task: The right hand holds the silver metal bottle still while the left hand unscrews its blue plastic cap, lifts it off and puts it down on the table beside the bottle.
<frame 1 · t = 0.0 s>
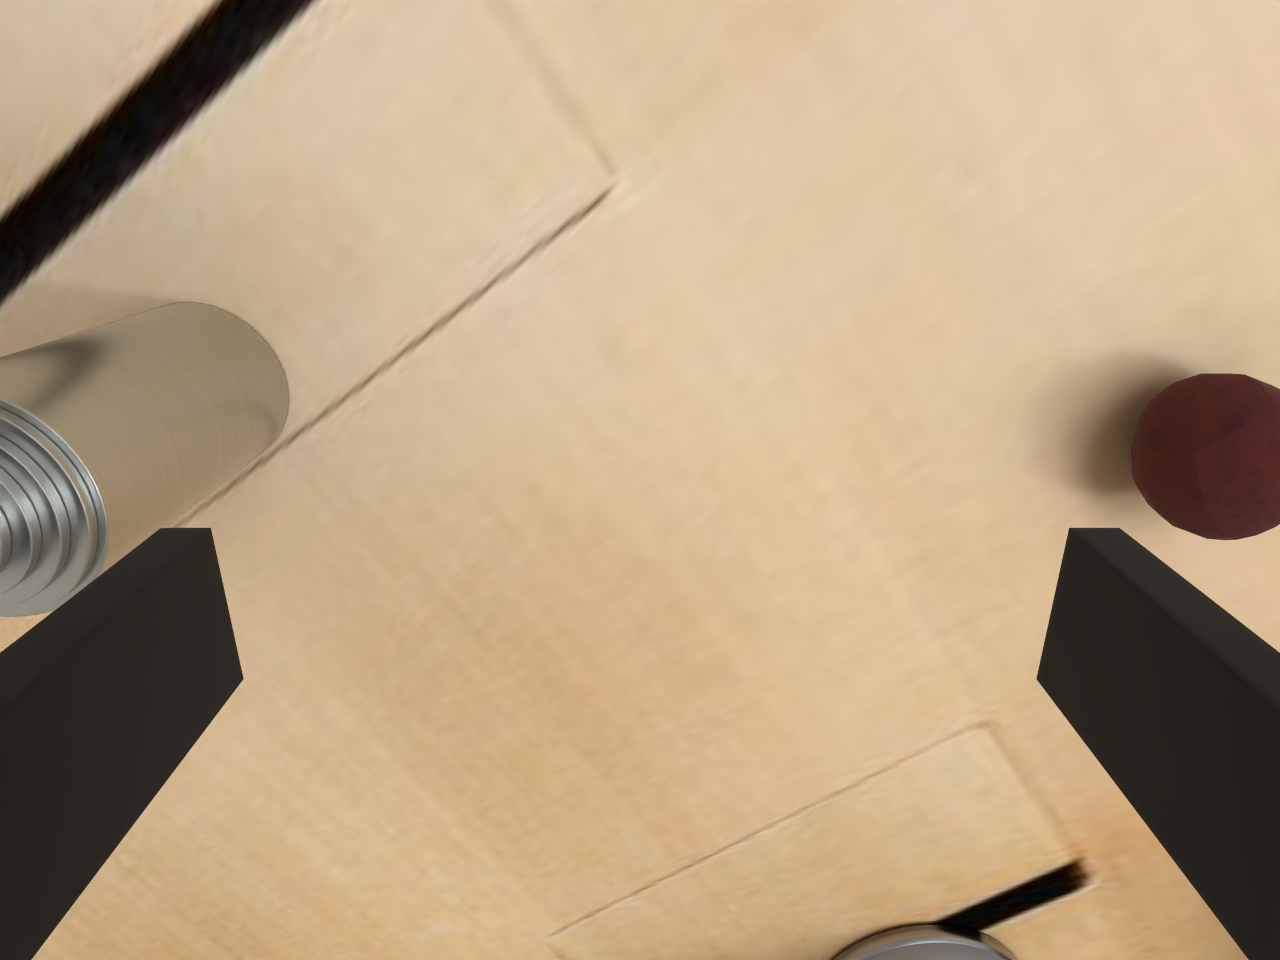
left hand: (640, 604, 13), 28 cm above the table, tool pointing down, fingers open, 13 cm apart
bottle: (205, 386, 40), on the table
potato: (1172, 429, 41), on the table
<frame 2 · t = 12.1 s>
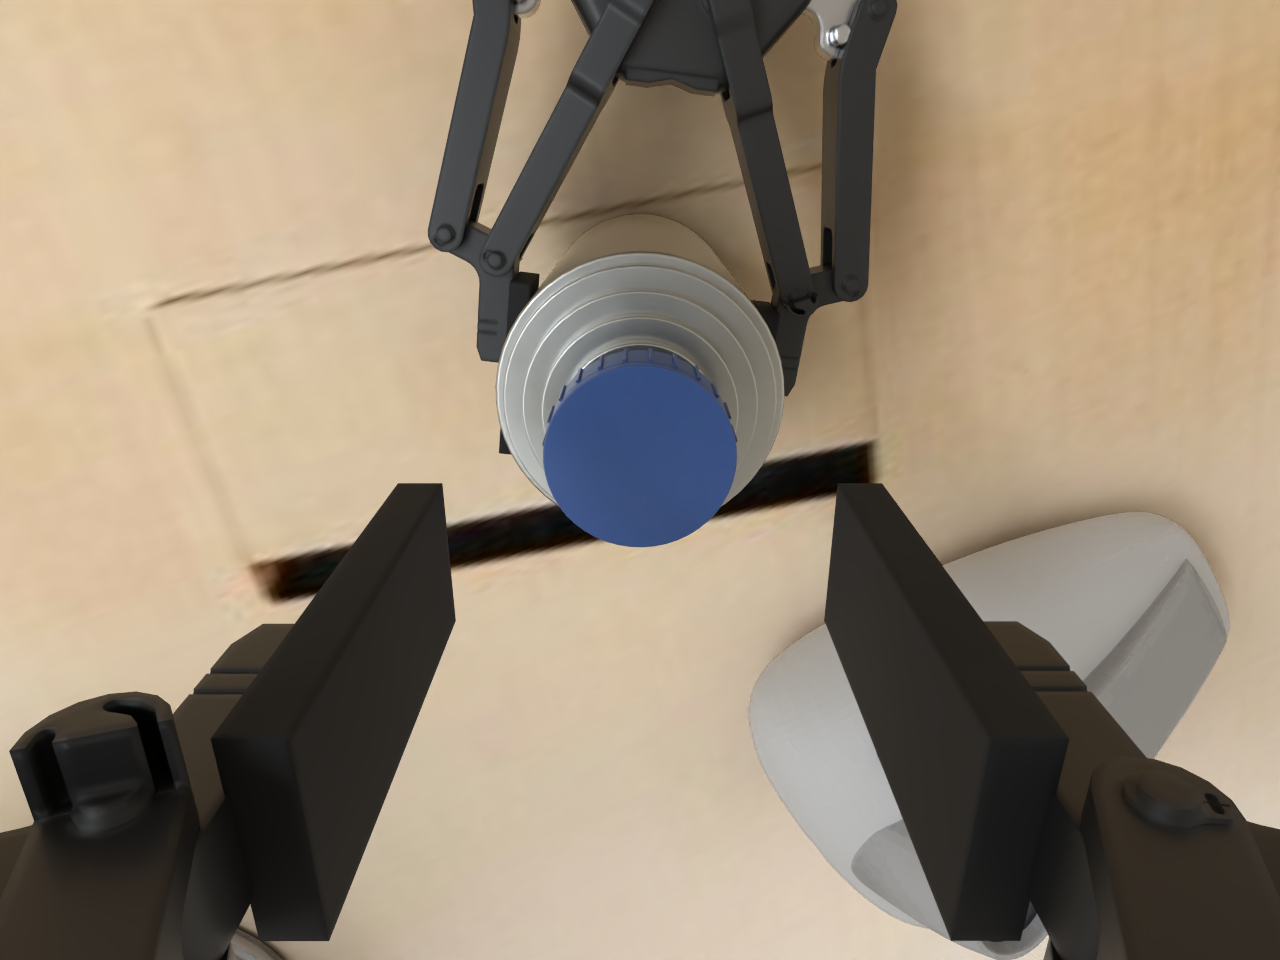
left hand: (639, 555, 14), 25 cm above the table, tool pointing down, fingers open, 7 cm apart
right hand: (625, 454, 33), fingers closed on bottle, 8 cm apart
bottle: (639, 308, 37), on the table, touching right hand
cap: (640, 456, 19), point 19 cm above the table, screwed on, not yet turned
projector: (968, 651, 44), on the table
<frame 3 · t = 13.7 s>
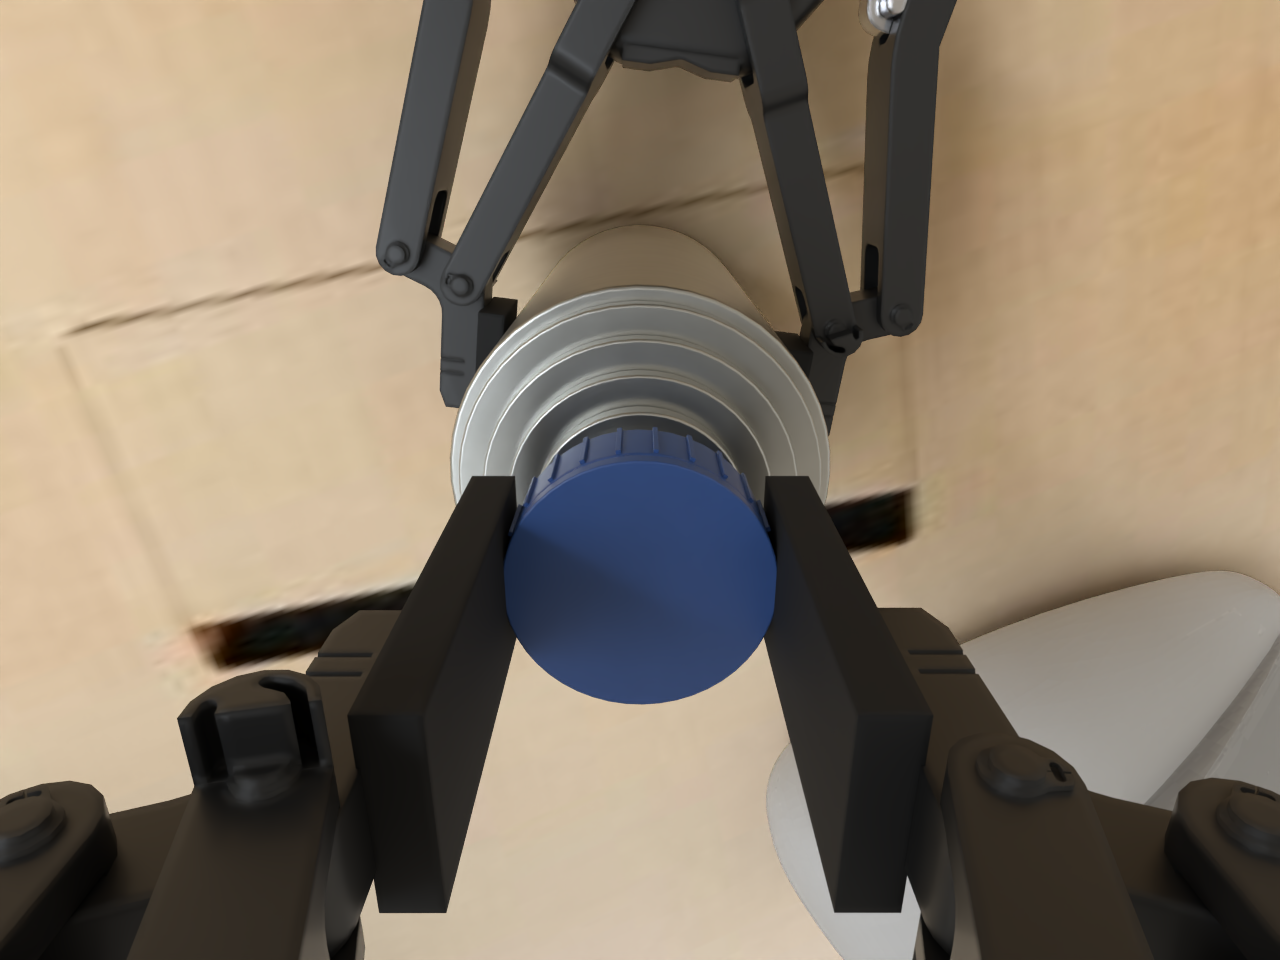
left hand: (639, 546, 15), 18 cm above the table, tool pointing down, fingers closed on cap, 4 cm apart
right hand: (623, 516, 27), fingers closed on bottle, 8 cm apart
bottle: (640, 336, 31), on the table, touching right hand
cap: (640, 581, 13), point 19 cm above the table, screwed on, not yet turned, touching left hand
projector: (1016, 724, 38), on the table
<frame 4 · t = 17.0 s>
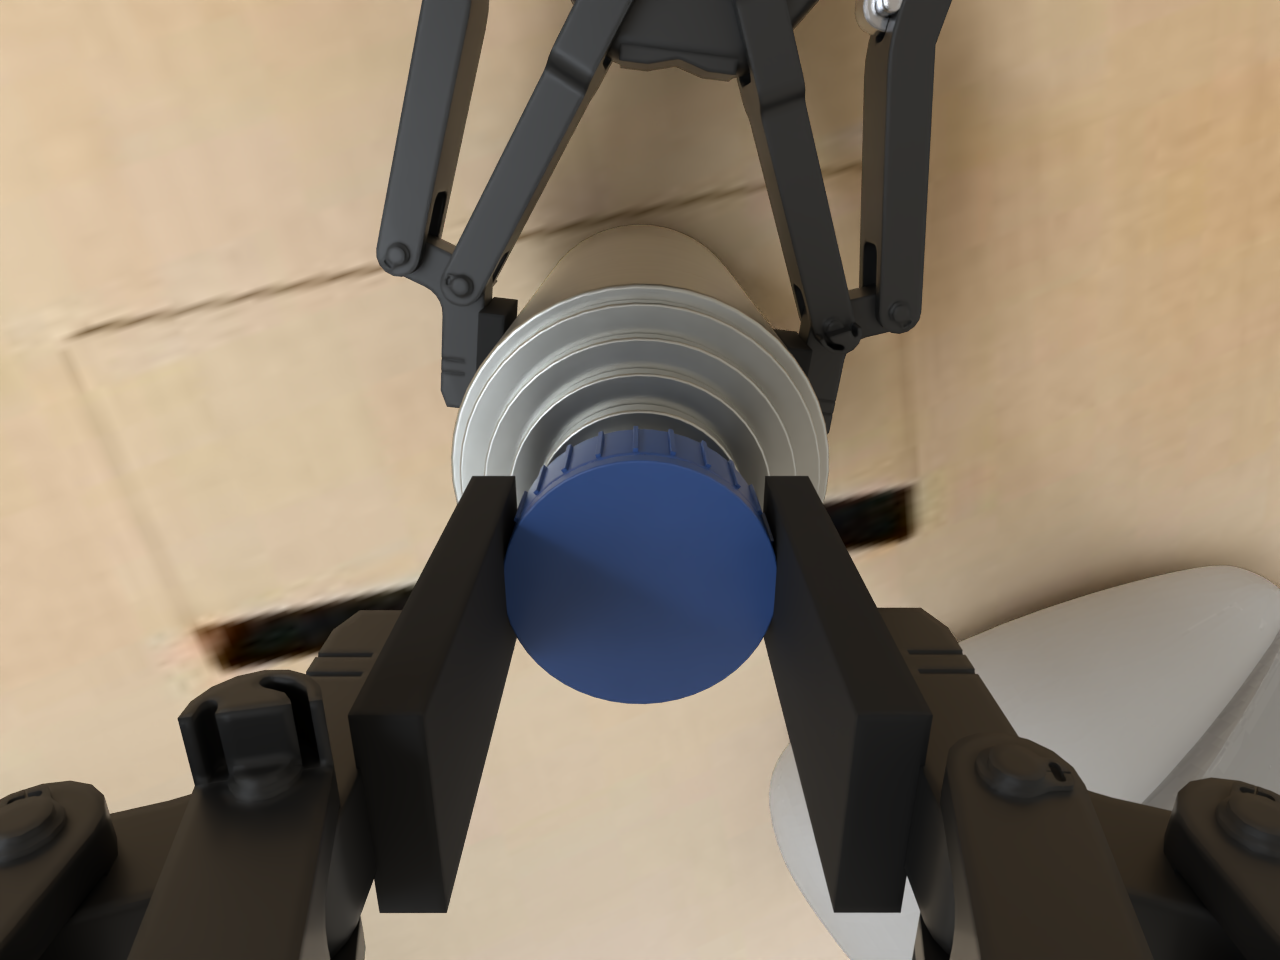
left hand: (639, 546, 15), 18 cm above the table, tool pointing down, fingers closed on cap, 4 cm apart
right hand: (624, 515, 27), fingers closed on bottle, 8 cm apart
bottle: (640, 335, 32), on the table, touching right hand
cap: (640, 581, 13), point 20 cm above the table, turned 113° so far, risen 0.1 cm, still on its thread, touching left hand
projector: (1018, 720, 38), on the table
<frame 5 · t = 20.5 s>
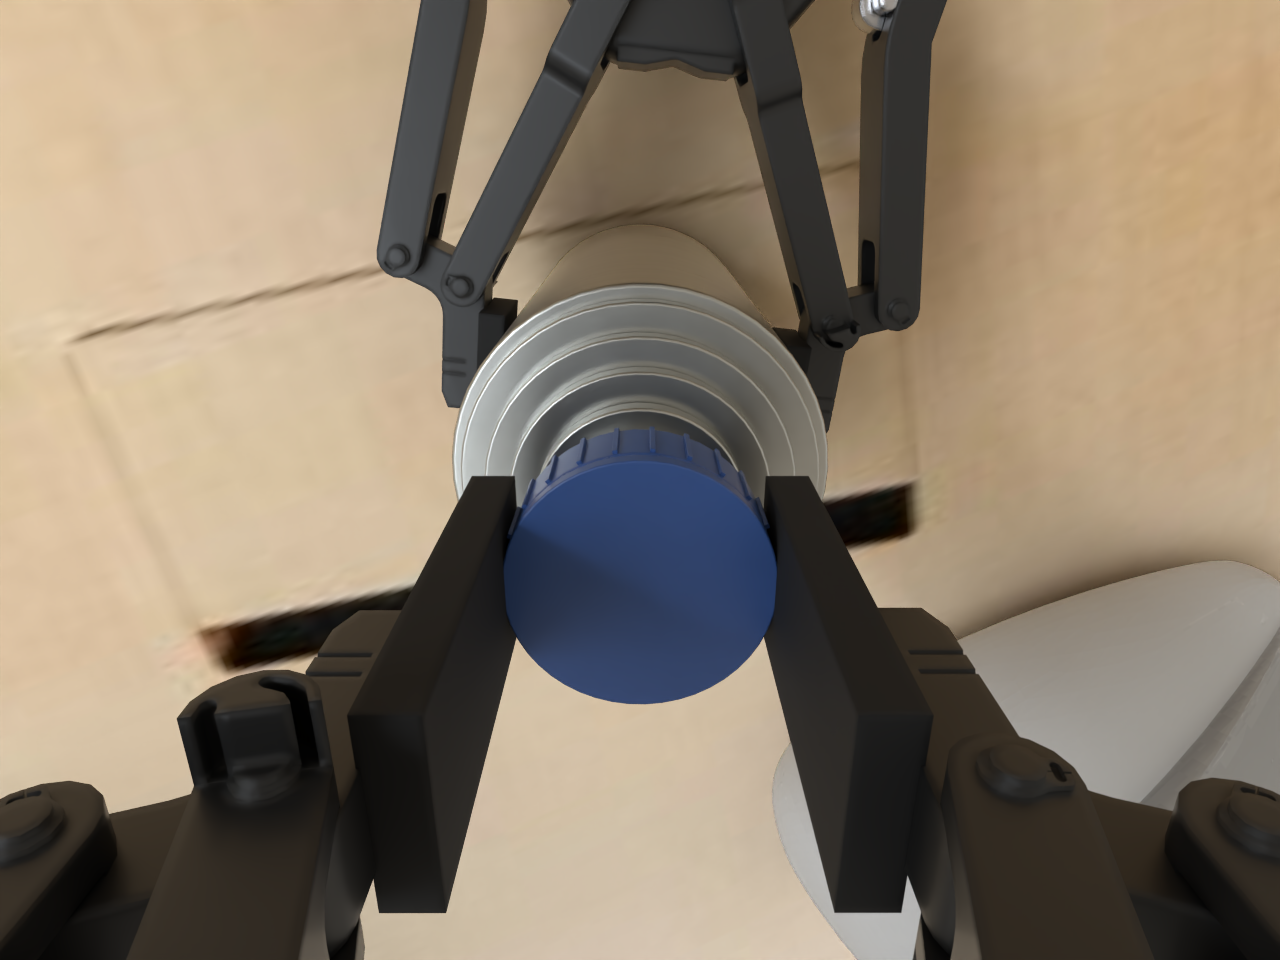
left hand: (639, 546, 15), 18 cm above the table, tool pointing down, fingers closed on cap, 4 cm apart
right hand: (625, 514, 27), fingers closed on bottle, 8 cm apart
bottle: (640, 334, 32), on the table, touching right hand
cap: (640, 581, 13), point 20 cm above the table, turned 225° so far, risen 0.2 cm, still on its thread, touching left hand
projector: (1021, 716, 38), on the table
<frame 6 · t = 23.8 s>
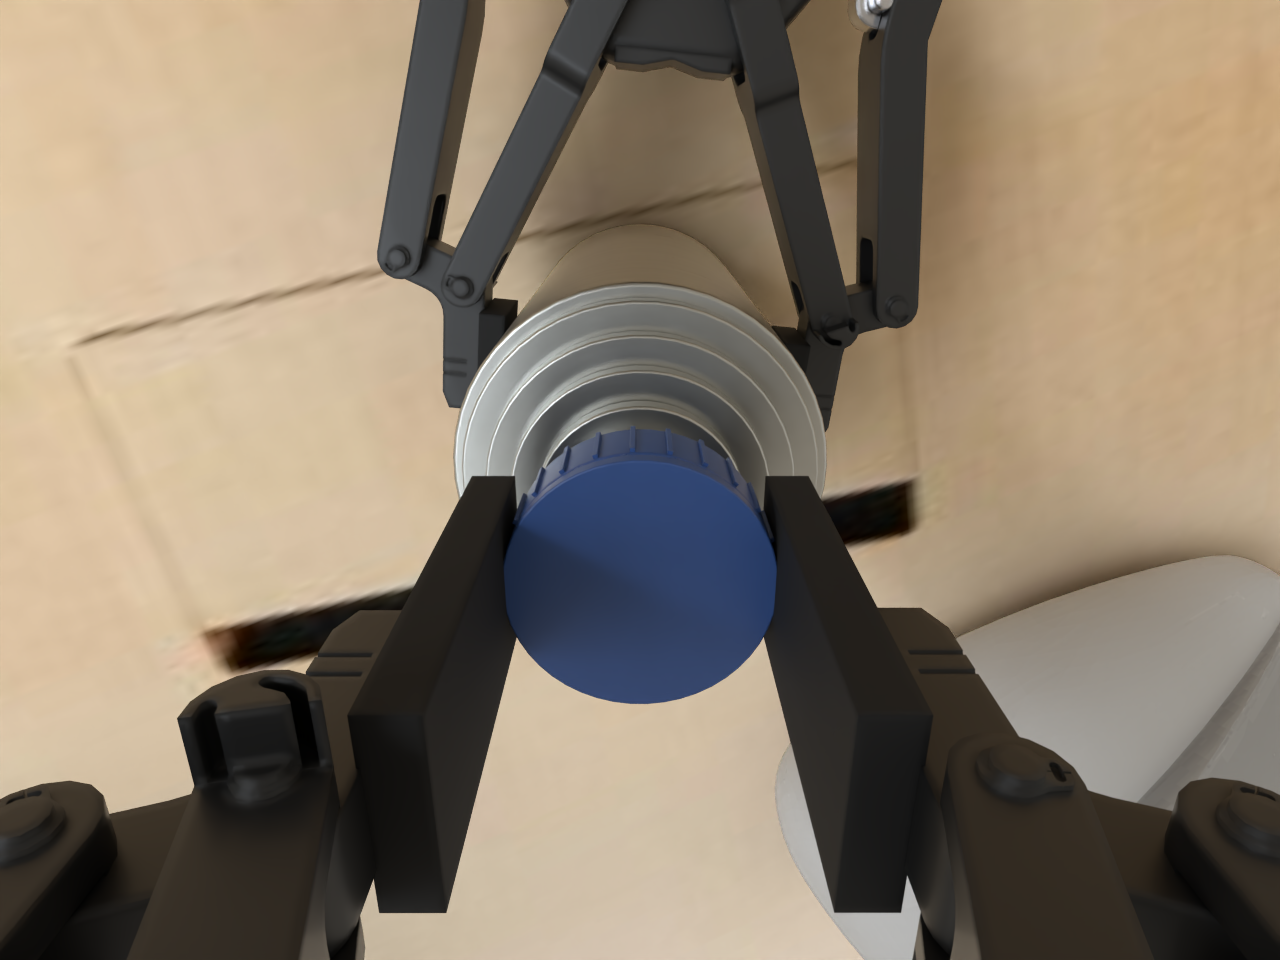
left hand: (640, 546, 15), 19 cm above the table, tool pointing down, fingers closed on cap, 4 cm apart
right hand: (626, 512, 27), fingers closed on bottle, 8 cm apart
bottle: (640, 334, 32), on the table, touching right hand
cap: (640, 581, 13), point 20 cm above the table, turned 338° so far, risen 0.3 cm, still on its thread, touching left hand
projector: (1023, 713, 38), on the table
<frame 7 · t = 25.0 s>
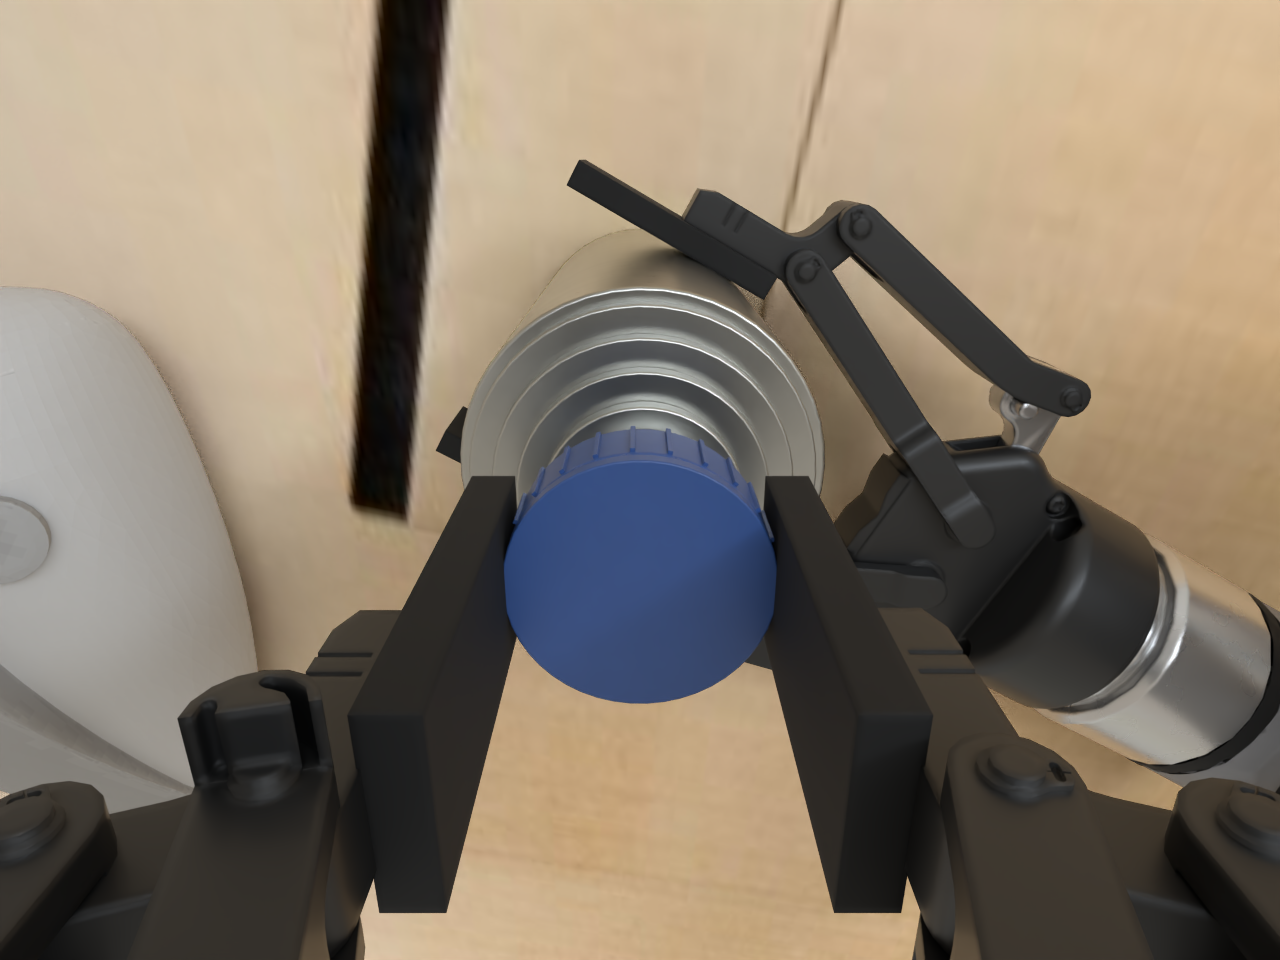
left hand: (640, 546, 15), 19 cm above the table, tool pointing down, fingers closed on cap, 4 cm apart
right hand: (510, 307, 25), fingers closed on bottle, 8 cm apart
bottle: (642, 337, 32), on the table, touching right hand
cap: (640, 581, 13), point 20 cm above the table, off its thread, touching left hand
projector: (102, 550, 36), on the table
when the left hand's fingers open (1 cm above the table, at t = 31.1 s): cap drops 1 cm, point 1 cm above the table.
when the right hand's fingers open (7 cm above the table, at t = 32.3 s): bottle stays where it is, on the table.
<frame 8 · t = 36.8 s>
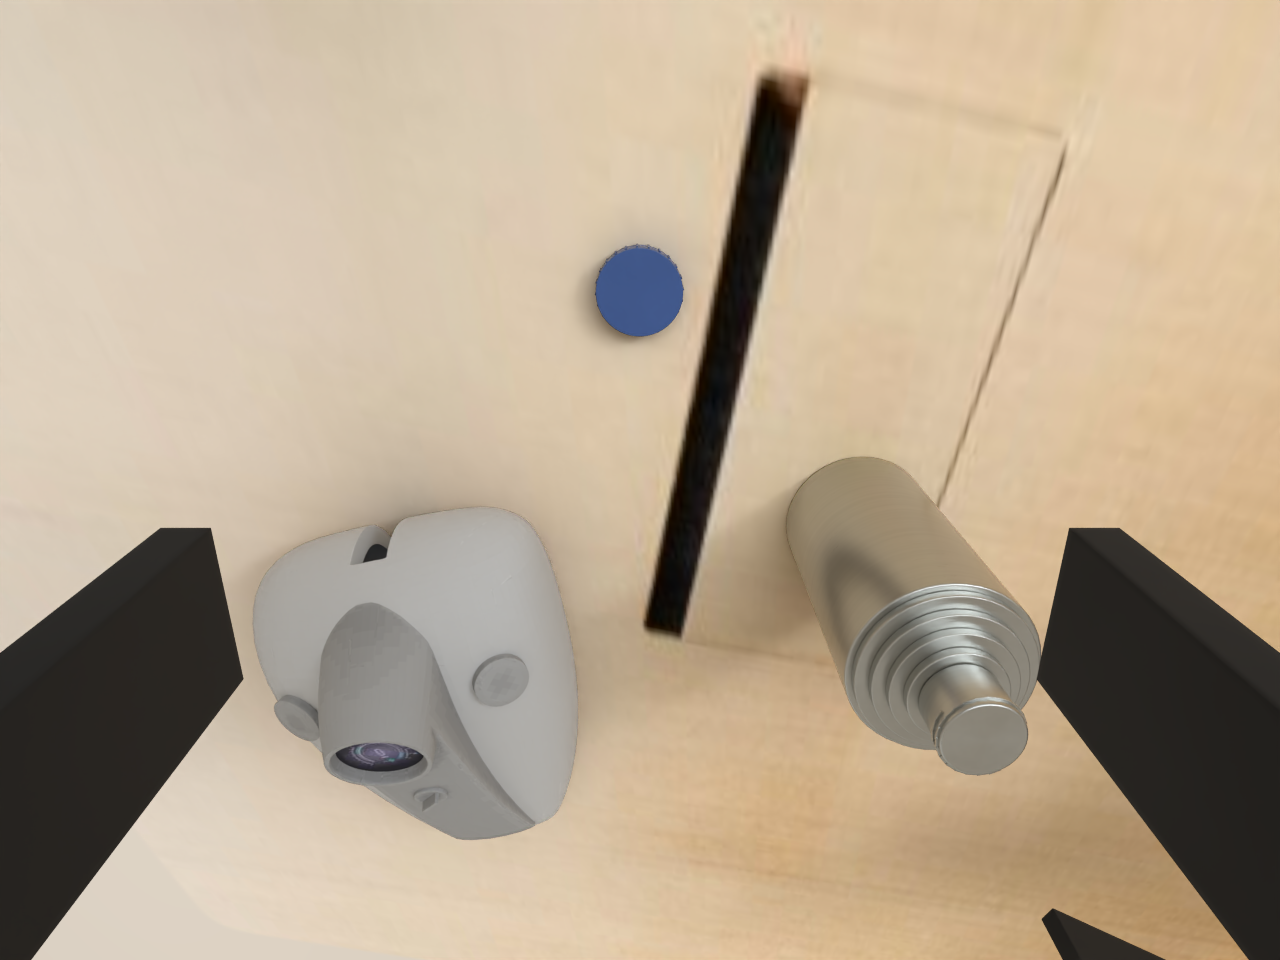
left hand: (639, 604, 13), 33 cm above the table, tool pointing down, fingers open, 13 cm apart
bottle: (855, 521, 48), on the table
cap: (639, 292, 42), point 1 cm above the table, off its thread
projector: (467, 657, 52), on the table
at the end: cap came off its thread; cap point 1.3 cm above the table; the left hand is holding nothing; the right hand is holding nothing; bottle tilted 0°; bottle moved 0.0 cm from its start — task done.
